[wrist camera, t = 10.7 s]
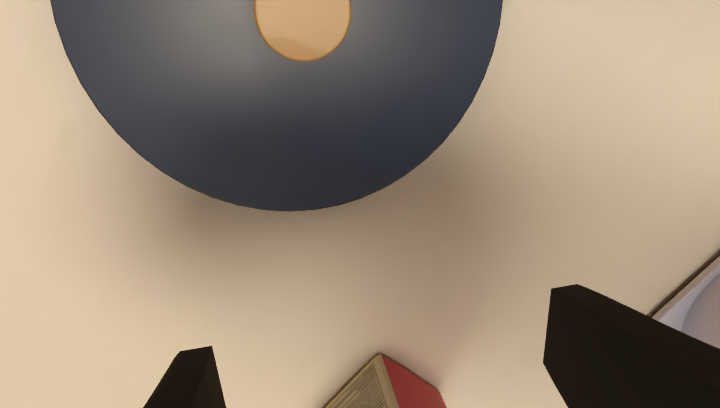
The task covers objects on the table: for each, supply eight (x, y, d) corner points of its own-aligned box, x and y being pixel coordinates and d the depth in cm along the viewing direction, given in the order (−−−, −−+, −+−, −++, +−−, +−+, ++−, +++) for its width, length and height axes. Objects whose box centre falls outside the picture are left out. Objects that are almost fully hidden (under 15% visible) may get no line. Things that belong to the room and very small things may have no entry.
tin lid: (564, -10, 18) (654, -9, 14) (316, 263, 20) (331, 330, 16) (252, -414, 12) (249, -609, 8) (-36, 25, 15) (-144, 38, 11)
